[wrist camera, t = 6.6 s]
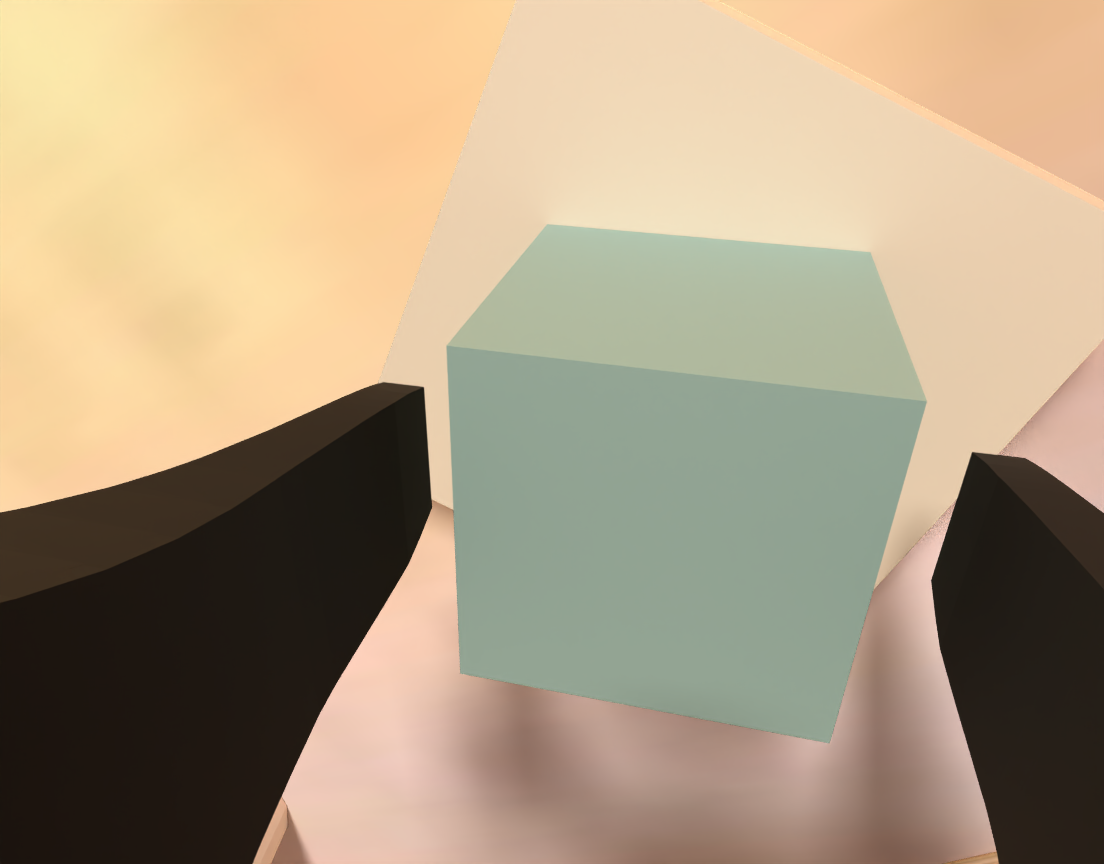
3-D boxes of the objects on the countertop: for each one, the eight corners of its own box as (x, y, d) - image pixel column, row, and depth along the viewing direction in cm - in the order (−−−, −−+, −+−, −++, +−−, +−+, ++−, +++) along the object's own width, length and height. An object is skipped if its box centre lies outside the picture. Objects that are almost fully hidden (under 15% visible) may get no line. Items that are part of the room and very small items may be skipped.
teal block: (870, 252, 12) (926, 401, 8) (809, 521, 15) (830, 743, 11) (547, 224, 13) (446, 345, 9) (541, 483, 16) (459, 673, 12)
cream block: (1106, 200, 14) (1182, 251, 12) (787, 584, 19) (791, 678, 17) (584, -71, 14) (544, -80, 11) (405, 393, 19) (350, 458, 16)
